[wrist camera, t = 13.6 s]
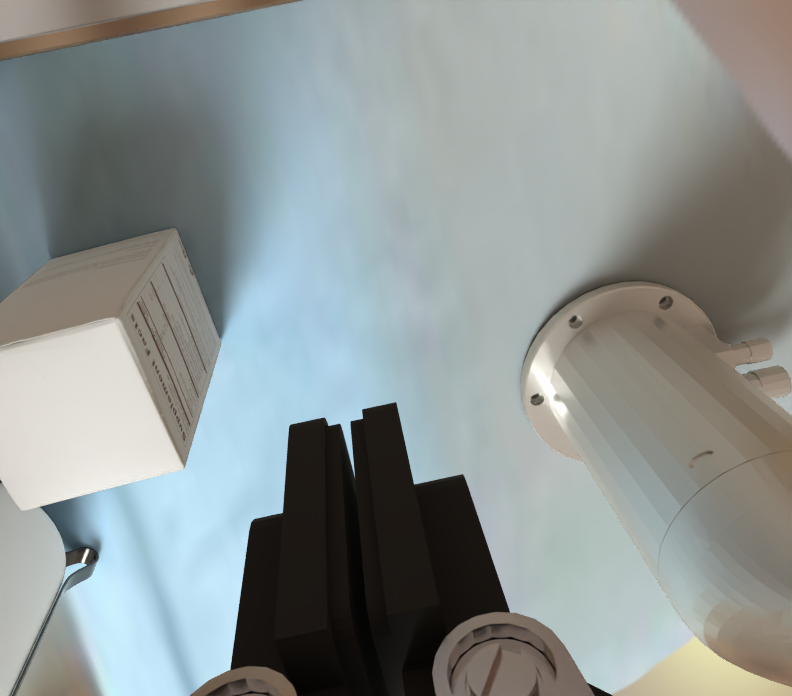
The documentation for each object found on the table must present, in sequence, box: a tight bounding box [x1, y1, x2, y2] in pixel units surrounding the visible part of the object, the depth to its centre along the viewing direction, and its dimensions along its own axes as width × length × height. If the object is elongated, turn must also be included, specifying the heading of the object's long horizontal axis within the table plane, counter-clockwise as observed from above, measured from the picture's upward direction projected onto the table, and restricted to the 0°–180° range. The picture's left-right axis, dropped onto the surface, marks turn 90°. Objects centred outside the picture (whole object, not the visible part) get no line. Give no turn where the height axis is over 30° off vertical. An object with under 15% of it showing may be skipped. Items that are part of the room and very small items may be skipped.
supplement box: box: [0, 228, 221, 511], centre depth 31 cm, size 7×7×13 cm
